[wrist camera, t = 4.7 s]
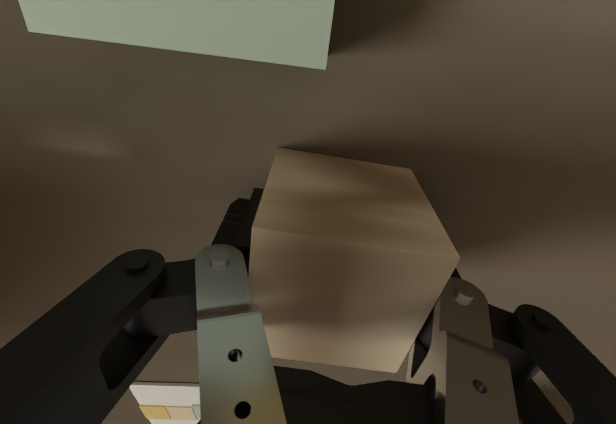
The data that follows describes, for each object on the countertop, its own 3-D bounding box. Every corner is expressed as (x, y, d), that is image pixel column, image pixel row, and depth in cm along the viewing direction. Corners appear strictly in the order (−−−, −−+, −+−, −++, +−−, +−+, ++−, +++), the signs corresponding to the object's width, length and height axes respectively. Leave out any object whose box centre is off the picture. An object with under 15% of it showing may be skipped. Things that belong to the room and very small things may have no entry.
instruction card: (279, 386, 20) (279, 391, 20) (285, 435, 24) (285, 439, 24) (129, 381, 21) (126, 386, 20) (158, 430, 24) (156, 434, 24)
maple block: (410, 168, 12) (460, 258, 7) (374, 267, 14) (396, 373, 10) (277, 147, 11) (252, 227, 7) (266, 251, 14) (243, 353, 10)
